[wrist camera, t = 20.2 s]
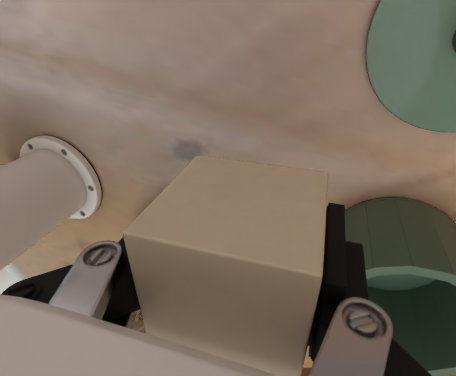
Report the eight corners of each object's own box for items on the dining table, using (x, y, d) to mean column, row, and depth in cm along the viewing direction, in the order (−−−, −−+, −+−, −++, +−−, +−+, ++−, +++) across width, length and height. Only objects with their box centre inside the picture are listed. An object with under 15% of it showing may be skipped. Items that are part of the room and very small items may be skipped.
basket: (317, 276, 36) (311, 348, 29) (338, 187, 30) (336, 249, 22) (435, 303, 33) (463, 394, 25) (486, 210, 27) (546, 294, 19)
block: (202, 250, 14) (148, 346, 10) (196, 154, 12) (121, 232, 8) (309, 273, 13) (296, 395, 9) (329, 171, 10) (323, 276, 6)
